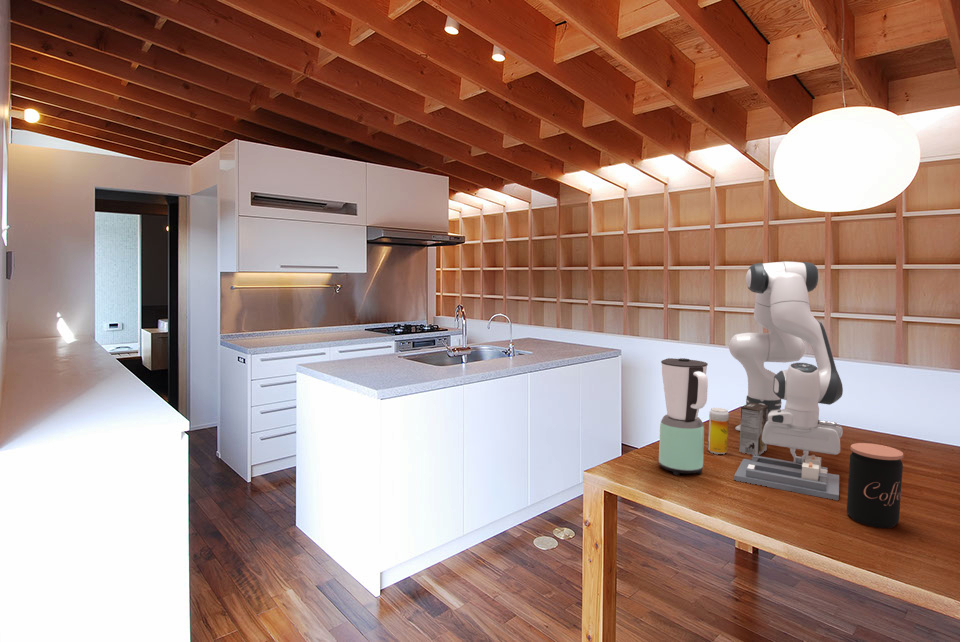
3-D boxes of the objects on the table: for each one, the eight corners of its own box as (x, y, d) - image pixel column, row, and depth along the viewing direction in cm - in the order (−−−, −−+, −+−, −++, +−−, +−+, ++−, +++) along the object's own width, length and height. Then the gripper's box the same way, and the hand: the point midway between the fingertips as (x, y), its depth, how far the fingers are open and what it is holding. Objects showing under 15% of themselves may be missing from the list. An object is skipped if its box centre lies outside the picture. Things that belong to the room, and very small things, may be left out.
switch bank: (743, 463, 176) (743, 452, 176) (838, 480, 162) (839, 468, 161) (733, 480, 161) (734, 468, 161) (838, 500, 147) (839, 488, 146)
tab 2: (801, 479, 157) (803, 460, 157) (818, 482, 155) (819, 463, 155) (801, 483, 154) (802, 464, 154) (817, 486, 152) (818, 467, 151)
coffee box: (747, 446, 193) (749, 402, 192) (767, 450, 189) (769, 405, 187) (738, 452, 187) (740, 406, 186) (758, 456, 182) (760, 409, 181)
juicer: (647, 462, 177) (650, 356, 174) (683, 459, 180) (687, 354, 177) (681, 483, 158) (685, 365, 155) (721, 480, 161) (725, 363, 158)
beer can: (729, 455, 183) (731, 412, 182) (710, 454, 184) (711, 411, 183) (724, 450, 189) (726, 408, 188) (706, 449, 190) (708, 407, 189)
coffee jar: (860, 528, 131) (865, 455, 129) (837, 509, 141) (841, 441, 140) (909, 530, 129) (914, 457, 128) (882, 511, 140) (886, 443, 138)
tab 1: (804, 471, 164) (805, 453, 163) (820, 473, 162) (821, 455, 161) (804, 475, 160) (805, 456, 160) (819, 478, 158) (820, 459, 158)
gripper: (843, 420, 158) (840, 466, 159) (764, 411, 170) (762, 454, 171) (843, 425, 153) (840, 473, 154) (762, 415, 165) (760, 459, 166)
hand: (798, 463), depth 163 cm, fingers closed
